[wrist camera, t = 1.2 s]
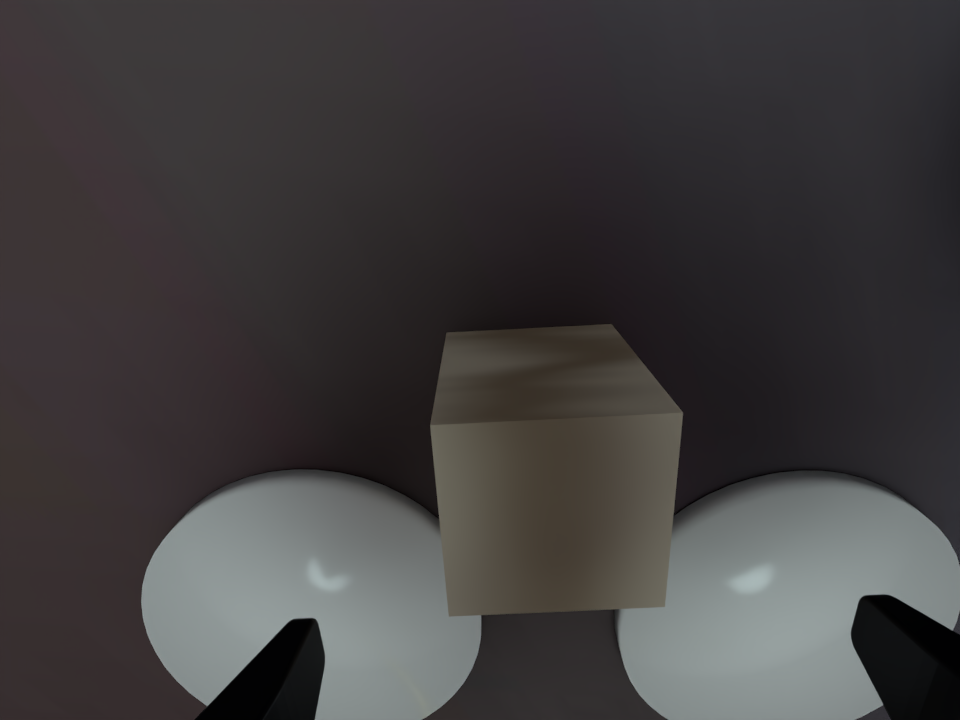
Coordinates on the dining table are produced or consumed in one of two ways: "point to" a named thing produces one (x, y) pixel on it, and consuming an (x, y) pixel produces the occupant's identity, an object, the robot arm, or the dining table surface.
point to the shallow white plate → (781, 598)
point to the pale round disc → (312, 592)
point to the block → (552, 472)
